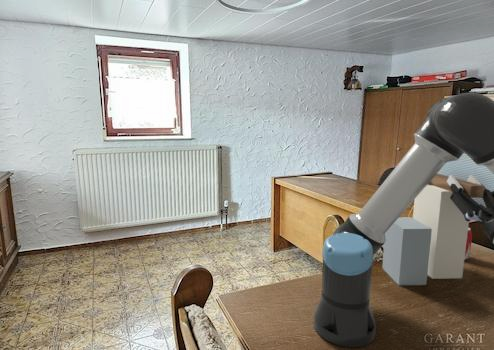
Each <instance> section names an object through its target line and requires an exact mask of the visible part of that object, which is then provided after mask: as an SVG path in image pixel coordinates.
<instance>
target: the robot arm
mask: <svg viewBox="0 0 494 350" xmlns="http://www.w3.org/2000/svg"><path fill="white" fill-rule="evenodd" d="M413 136H414V144H413V145H412V146H411V147H410V149H409V150H408V151H407V152H406V153H405V155H404V156H403V157H402V158H401V160H400V161H399V162H398V164H397V165H396V166H395V167H394V169H393V170H392V171H391V172H390V173H389V174H388V176H387V177H386V179H385V180H384V181H383V183H382V184H381V185H380V186H379V187H378V188H377V190H376V191H375V192H374V193H373V195H372V196H371V197H370V198H369V199H368V201H367V202H366V203H365V205H364V206H363V207H362V208H361V210H360V211H359V212H357V213H351V214H349V216H348V217H347V218H346V219H345V221H344V222H343V223H342V224H340V225H339V226H338V227H337V228H336V229H335V230H334V232H333V234H332V235H330V236H328V237H326V239H325V241H324V242H323V247H322V251H321V253H322V254H321V255H322V269H321V270H322V271H321V296H320V299H319V301H318V303H317V305H316V308H315V310H314V313H313V326H314V327H313V328H314V330H315V331H316V333H317V334H318V335H319V336H320V337H321V338H323V339H324V340H326V341H327V342H328V343H331V344H333V345H336V346H339V347H340V346H341V347H343V348H362V347H365V346H368V345H370V344H371V343H372V342H373V341H374V340H375V337H376V329H377V328H376V322H375V318H374V314H373V311H372V308H371V304H370V302H371V299H370V298H371V288H372V273H373V272H372V271H373V262H374V258H375V257H374V256H375V255H376V254H377V252H378V251H379V250H380V249H381V248H382V246H383V247H384V243H385V242H386V238H385V233H386V232H387V230H388V229H389V228H390V227H391V226H392V225H393V224H394V222H395V221H396V220H397V219H398V218H399V217H401V215H403V213H404V212H405V211H406V209H408V208H409V206H410V205H411V204H412V203H414V200H415V198H416V197H417V196H418V195H419V194H420V192H421V191H422V190H423V189H424V188H425V187H426V185H427V184H428V183H429V182H430V181H431V180H432V179H433V177H434V176H435V175H436V174H439V172H440V171H441V169H443V167H444V166H445V164H446V165H447V163H449V162H454V161H458V160H459V159H460V158H461V157H462V156H463V154H465V155H466V156H468V158H470V159H471V161H472V162H474V163H475V165H477V166H483V167H486V168H487V169H488V170H489V171H490V172H491V173H492V174H493V175H494V100H493V99H492V98H491V97H488V96H487V95H484V94H481V93H477V92H463V93H459V94H456V95H452V96H449V97H446V98H445V97H444V99H443V98H442V99H441V100H440V101H438V102H436V103H435V104H434V105H433V106H432V107H431V109H430V110H429V111H428V114H427V115H426V118H425V120H424V121H423V122H422V124H421V125H420V126H419V127H418V129H417V130H416V131H415V133H414V134H413ZM455 178H456V177H455V176H454V175H453V174H450V175H449V178H448V180H447V181H446V182H447V183H448V184H449V185H450V189H451V190H452V192H453V193H452V195H451V196H450V199H451V200H452V201H453V203H454V204H455V205H456V206H457V207H458V209H459V210H460V211H461V212H462V214H463V215H464V217H465V220H466V221H468V222H469V223H470V221H476V222H477V223H478V224H479V225H480V226H482V230H483V233H484V234H485V235H486V236H487V238H488V239H489V241H490V242H492V244H493V245H494V190H492V191H491V190H490V189H487V188H486V187H485V186H484V194H483V198H482V200H483V202H484V204H485V205H483V204H481V203H478V202H477V201H476V200H475V199H473V198H471V197H469V196H468V195H467V194H466V193H464V192H463V187H462V186H461V185H460V184H459V183H458V181H457V180H456V179H455ZM466 181H468V182H472V183H475V184H479V185H483V184H482V183H481V182H480V181H479V180H477V178H476V177H475V176H474V175H473V174H470V175H469V176H468V178H466Z"/></svg>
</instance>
